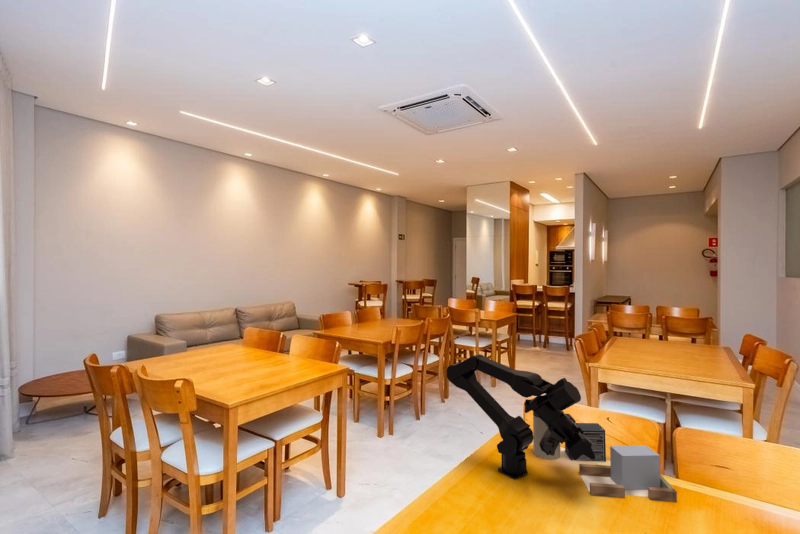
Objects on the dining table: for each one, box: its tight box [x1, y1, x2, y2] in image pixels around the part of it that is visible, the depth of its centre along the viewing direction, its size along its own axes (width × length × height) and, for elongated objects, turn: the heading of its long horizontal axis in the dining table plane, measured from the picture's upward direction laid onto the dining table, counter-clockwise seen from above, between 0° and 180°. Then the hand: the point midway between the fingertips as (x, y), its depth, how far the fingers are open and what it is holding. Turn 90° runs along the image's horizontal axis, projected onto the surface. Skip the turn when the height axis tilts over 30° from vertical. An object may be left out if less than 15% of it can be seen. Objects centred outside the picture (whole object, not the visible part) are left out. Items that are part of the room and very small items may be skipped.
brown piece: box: [578, 463, 678, 503], centre depth 111 cm, size 20×22×4 cm
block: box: [609, 445, 661, 490], centre depth 112 cm, size 10×6×9 cm, turn 91°
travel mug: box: [532, 411, 561, 461], centre depth 131 cm, size 8×8×18 cm
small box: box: [564, 422, 607, 463], centre depth 129 cm, size 11×6×10 cm, turn 84°
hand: (593, 458), depth 112 cm, fingers closed
